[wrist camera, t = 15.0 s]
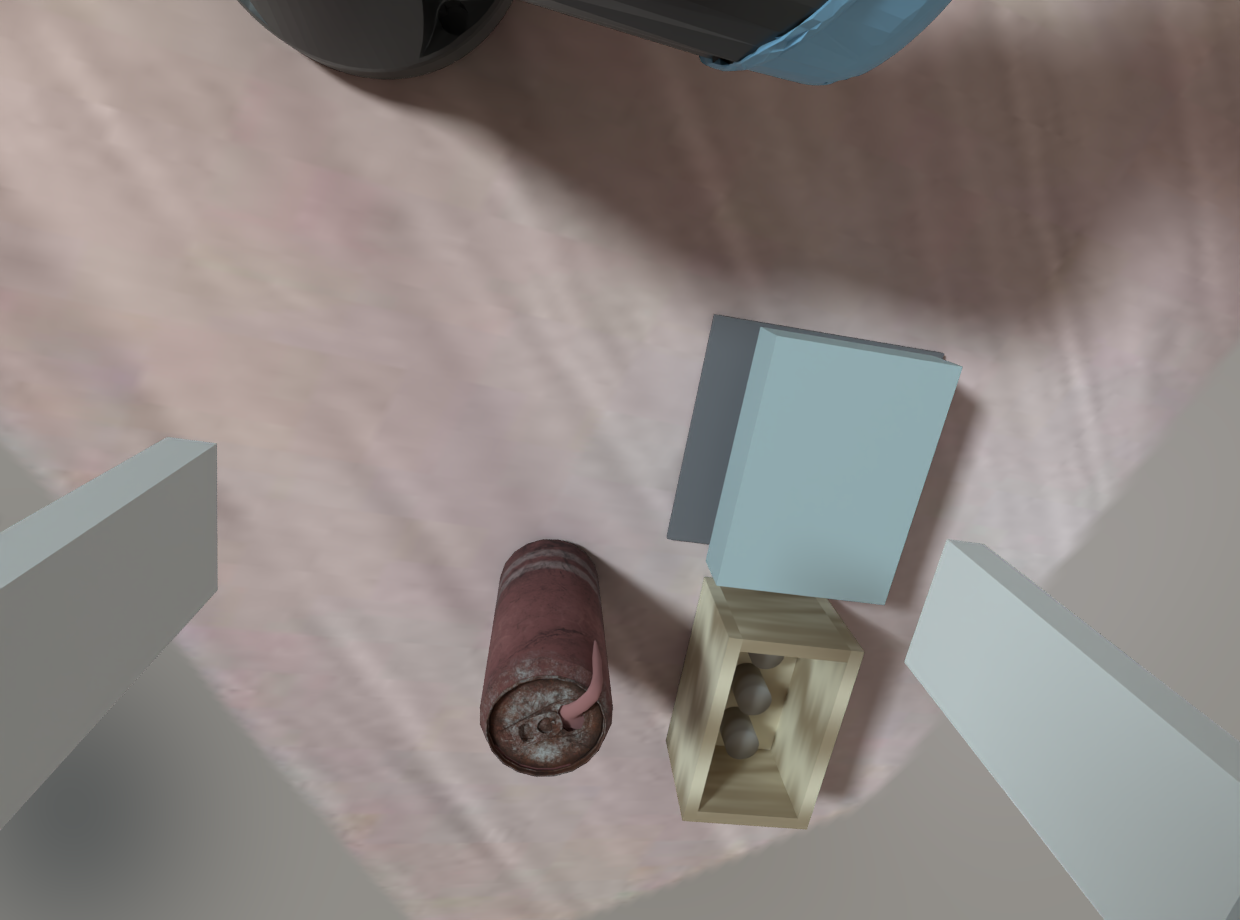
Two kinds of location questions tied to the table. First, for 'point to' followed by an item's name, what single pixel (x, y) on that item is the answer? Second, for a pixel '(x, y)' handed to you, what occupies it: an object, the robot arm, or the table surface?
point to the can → (547, 662)
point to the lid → (827, 466)
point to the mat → (723, 421)
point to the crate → (759, 706)
